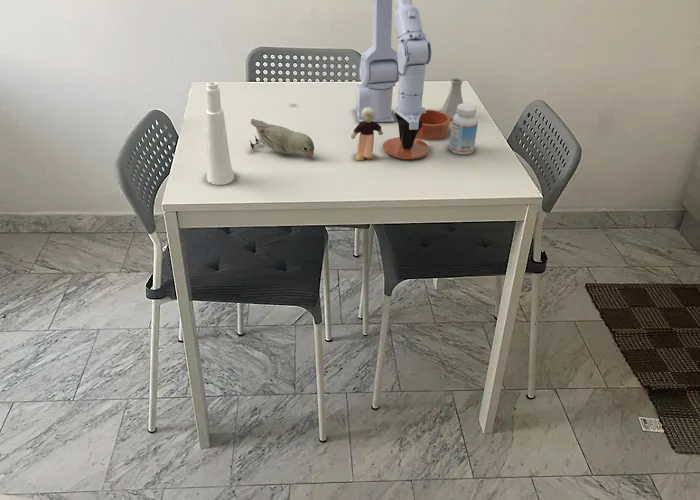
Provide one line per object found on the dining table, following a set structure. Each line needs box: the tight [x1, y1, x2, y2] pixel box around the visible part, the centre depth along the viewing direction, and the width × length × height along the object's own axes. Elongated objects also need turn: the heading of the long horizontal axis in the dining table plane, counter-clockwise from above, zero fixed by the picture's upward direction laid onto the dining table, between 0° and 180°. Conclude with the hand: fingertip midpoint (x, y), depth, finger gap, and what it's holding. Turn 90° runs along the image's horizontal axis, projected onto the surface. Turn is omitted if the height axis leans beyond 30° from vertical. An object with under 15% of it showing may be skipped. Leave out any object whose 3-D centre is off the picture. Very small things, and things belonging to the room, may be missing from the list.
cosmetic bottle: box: [205, 81, 235, 186], centre depth 142 cm, size 6×6×22 cm
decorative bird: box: [249, 118, 315, 159], centre depth 158 cm, size 5×16×8 cm, turn 71°
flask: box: [440, 77, 464, 121], centre depth 179 cm, size 7×7×10 cm
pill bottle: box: [449, 102, 479, 155], centre depth 161 cm, size 6×6×11 cm
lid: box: [382, 136, 430, 160], centre depth 162 cm, size 11×11×5 cm
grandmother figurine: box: [350, 107, 384, 161], centre depth 156 cm, size 8×4×13 cm, turn 117°
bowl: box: [416, 109, 451, 141], centre depth 172 cm, size 10×10×4 cm
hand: (406, 144), depth 162 cm, fingers open, 3 cm apart
